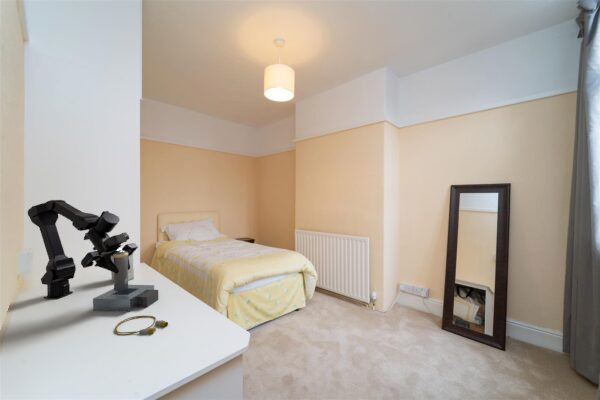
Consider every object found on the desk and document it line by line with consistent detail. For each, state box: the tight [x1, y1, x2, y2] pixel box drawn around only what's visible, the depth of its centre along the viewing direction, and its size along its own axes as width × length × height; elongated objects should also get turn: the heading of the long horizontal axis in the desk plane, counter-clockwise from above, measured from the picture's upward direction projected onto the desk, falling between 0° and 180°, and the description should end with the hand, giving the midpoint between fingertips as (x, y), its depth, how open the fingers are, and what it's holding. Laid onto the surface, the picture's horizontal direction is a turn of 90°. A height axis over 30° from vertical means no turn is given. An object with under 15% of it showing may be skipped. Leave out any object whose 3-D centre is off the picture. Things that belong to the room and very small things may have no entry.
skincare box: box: [110, 246, 135, 282], centre depth 123 cm, size 8×7×16 cm
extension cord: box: [114, 315, 169, 336], centre depth 80 cm, size 12×16×2 cm
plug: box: [113, 251, 129, 291], centre depth 95 cm, size 5×5×14 cm
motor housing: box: [92, 284, 159, 313], centre depth 97 cm, size 18×14×4 cm
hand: (123, 270), depth 94 cm, fingers closed on plug, 4 cm apart
